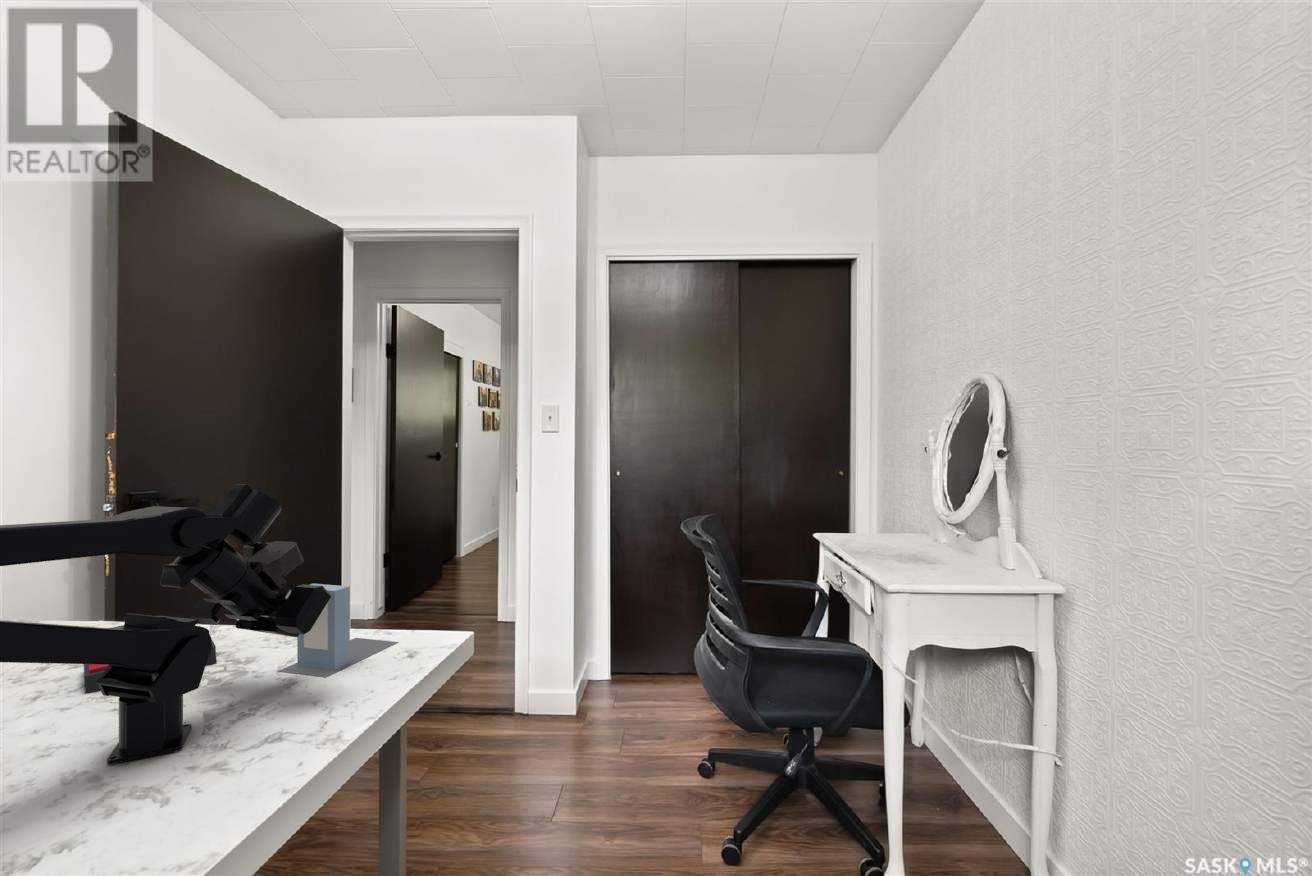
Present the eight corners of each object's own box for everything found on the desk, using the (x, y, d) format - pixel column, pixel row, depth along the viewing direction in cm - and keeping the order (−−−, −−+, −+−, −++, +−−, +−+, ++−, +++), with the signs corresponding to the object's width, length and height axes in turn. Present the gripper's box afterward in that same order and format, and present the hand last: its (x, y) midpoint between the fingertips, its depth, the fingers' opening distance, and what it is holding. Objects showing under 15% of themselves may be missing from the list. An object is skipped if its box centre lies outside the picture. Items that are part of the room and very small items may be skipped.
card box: (334, 670, 92) (334, 591, 92) (297, 666, 94) (297, 588, 94) (349, 663, 95) (349, 586, 95) (313, 659, 97) (313, 583, 97)
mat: (325, 680, 89) (325, 677, 89) (276, 673, 92) (276, 671, 92) (399, 644, 105) (399, 642, 105) (355, 640, 107) (355, 637, 107)
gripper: (319, 528, 82) (378, 589, 93) (212, 523, 87) (279, 582, 98) (268, 602, 74) (338, 660, 85) (154, 592, 79) (234, 648, 90)
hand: (297, 633), depth 90 cm, fingers closed
